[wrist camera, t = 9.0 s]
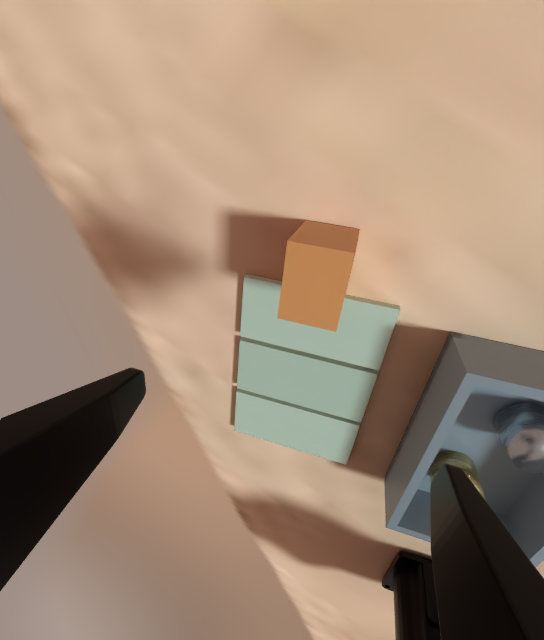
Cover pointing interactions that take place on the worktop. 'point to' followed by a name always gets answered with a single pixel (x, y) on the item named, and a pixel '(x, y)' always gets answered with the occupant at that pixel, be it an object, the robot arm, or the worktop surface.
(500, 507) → the tub
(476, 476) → the brass slug
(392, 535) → the worktop surface
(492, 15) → the worktop surface
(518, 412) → the steel slug
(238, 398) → the mint drawer unit
